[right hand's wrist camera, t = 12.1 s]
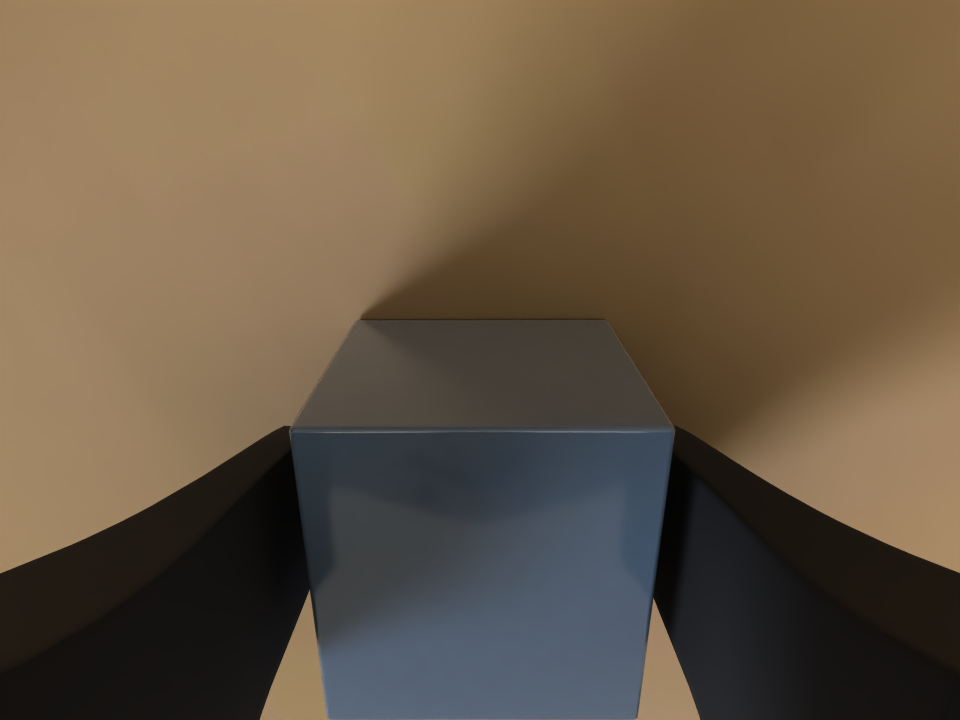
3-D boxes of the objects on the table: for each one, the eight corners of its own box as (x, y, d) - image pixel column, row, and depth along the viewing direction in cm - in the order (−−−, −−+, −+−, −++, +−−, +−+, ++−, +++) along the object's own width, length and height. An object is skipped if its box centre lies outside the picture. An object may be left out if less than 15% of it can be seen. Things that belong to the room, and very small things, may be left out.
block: (591, 539, 13) (638, 722, 9) (372, 539, 13) (325, 723, 9) (608, 318, 11) (678, 428, 7) (354, 318, 11) (285, 428, 7)
